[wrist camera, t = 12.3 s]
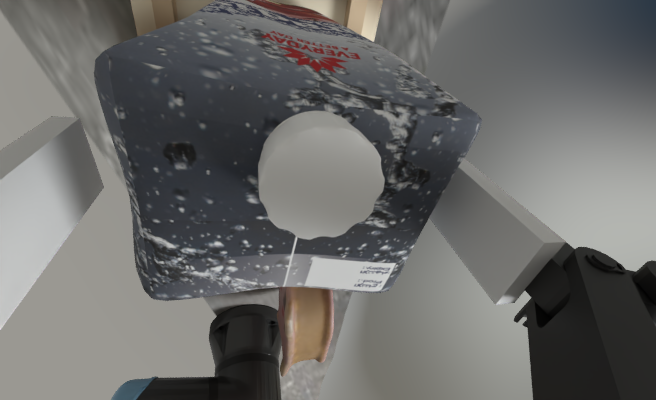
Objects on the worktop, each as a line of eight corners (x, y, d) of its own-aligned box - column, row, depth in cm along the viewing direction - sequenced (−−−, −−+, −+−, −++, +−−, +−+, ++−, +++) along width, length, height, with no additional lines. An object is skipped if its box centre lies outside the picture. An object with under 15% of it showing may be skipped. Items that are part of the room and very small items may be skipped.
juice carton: (311, 103, 32) (417, 334, 11) (211, 87, 29) (104, 362, 8) (329, 11, 27) (574, 122, 6) (210, -21, 24) (-55, -4, 3)
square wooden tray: (344, 137, 39) (353, 153, 36) (165, 126, 34) (154, 144, 30) (383, -57, 28) (402, -62, 24) (118, -122, 22) (93, -141, 18)
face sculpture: (273, 217, 45) (281, 314, 32) (317, 215, 47) (341, 307, 34) (274, 295, 57) (280, 388, 44) (308, 291, 59) (324, 380, 46)
